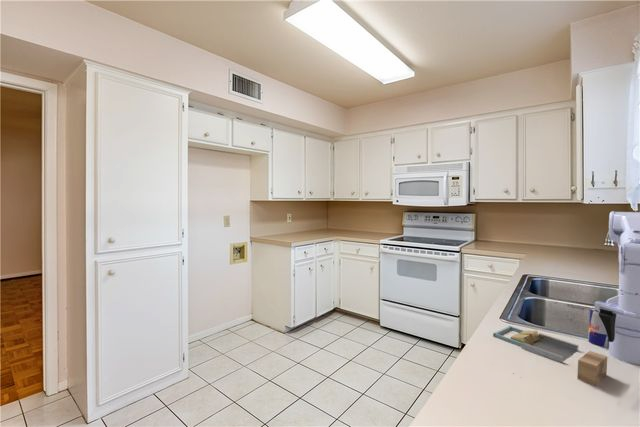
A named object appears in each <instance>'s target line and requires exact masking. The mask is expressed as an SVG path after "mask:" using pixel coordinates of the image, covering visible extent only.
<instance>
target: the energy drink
mask: <svg viewBox="0 0 640 427" xmlns="http://www.w3.org/2000/svg"><path fill="white" fill-rule="evenodd" d="M594 308H595V307H591V308H590V310H589V319H588V339H587V342H588V343H590V344H592V345H594V346H597V347H602V348H609V341H608V336H607V332H606V329H605V326H604V324H603V322H602V320H601V319H600V317H599V313H600V311H599V310H595V309H594Z"/></svg>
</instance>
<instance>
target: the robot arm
mask: <svg viewBox="0 0 640 427" xmlns="http://www.w3.org/2000/svg"><path fill="white" fill-rule="evenodd" d="M608 218H609V219H608V236H609V240H610V241H612V242H615V243H616V244H617V246H618V265H619V266H618V269H619V271H618V273H619V274H618V295H616V296H615V295H614V296H612V297H610V298H608V299H607V300H606V301H605V302H604V301H599V300H596V301H595V302H594V307H593V308H594V309H595V310H599V311H600V313H599V317H600V319H601V320H602V322H603V324H604V326H605V329H606V332H607V336H608V341H609V347H608V354H609V356H611V357H612V358H614V359H616V360H619V361H621V362H625V363H629V364H635V365H640V212H639V211H638V212H637V211H635V212H633V211H614V210H612V211H610V213H609V216H608Z"/></svg>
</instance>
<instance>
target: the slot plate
mask: <svg viewBox="0 0 640 427" xmlns="http://www.w3.org/2000/svg"><path fill="white" fill-rule="evenodd" d="M538 335H539V338H540V339H539V340H537V341H535V342H532V343H531V344H530V345H529V344H526V343H524V342H523V343H522V345H521V346H520V347H521V349H523V350H526V351H528V352H530V353H533V354H536V355H538V356H542V357H544V358H547V359H549V360H551V361H555V362H558V363H560V364H562V363H563V362H565V361H566V360H567V359H568V358H570V357H571V356H573V355H574V354H575V353H577V352H579V344H576V343H572V342H570V341H566V340H563V339H560V338H557V337H553V336H551V335H548V334H544V333H541V332H540V333H539V332H538Z"/></svg>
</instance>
